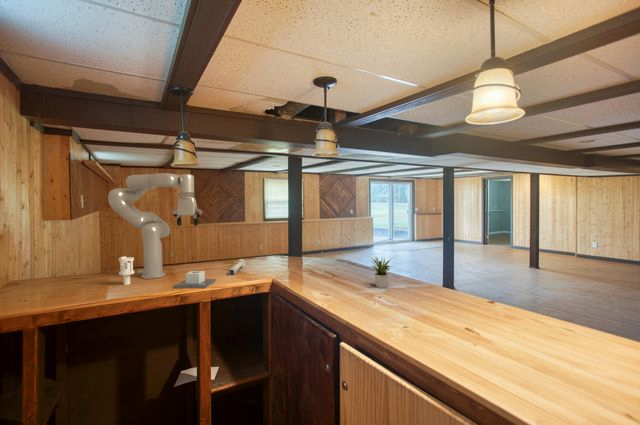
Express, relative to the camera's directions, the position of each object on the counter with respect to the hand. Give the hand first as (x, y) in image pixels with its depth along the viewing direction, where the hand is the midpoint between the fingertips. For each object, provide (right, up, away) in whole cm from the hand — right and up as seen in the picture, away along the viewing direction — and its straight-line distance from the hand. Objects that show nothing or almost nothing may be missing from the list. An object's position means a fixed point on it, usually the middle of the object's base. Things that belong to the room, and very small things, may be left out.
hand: (187, 225), depth 183 cm
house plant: (+106, -30, -24) cm, 113 cm away
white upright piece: (-27, -31, -14) cm, 43 cm away
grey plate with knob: (+11, -30, -17) cm, 37 cm away
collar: (+11, -29, -17) cm, 35 cm away
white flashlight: (+24, -30, +18) cm, 43 cm away
